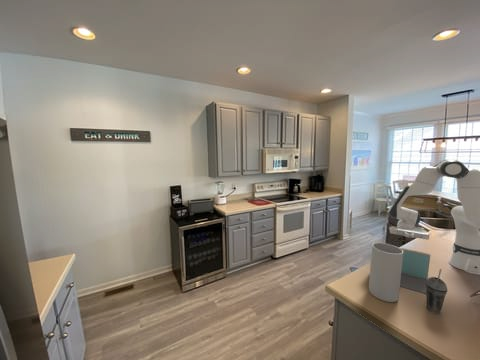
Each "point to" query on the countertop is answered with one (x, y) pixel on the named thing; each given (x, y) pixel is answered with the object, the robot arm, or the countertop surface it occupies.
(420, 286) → the mat
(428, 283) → the beverage cup
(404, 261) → the tile
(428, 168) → the robot arm
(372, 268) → the cylinder vase
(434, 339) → the countertop surface
